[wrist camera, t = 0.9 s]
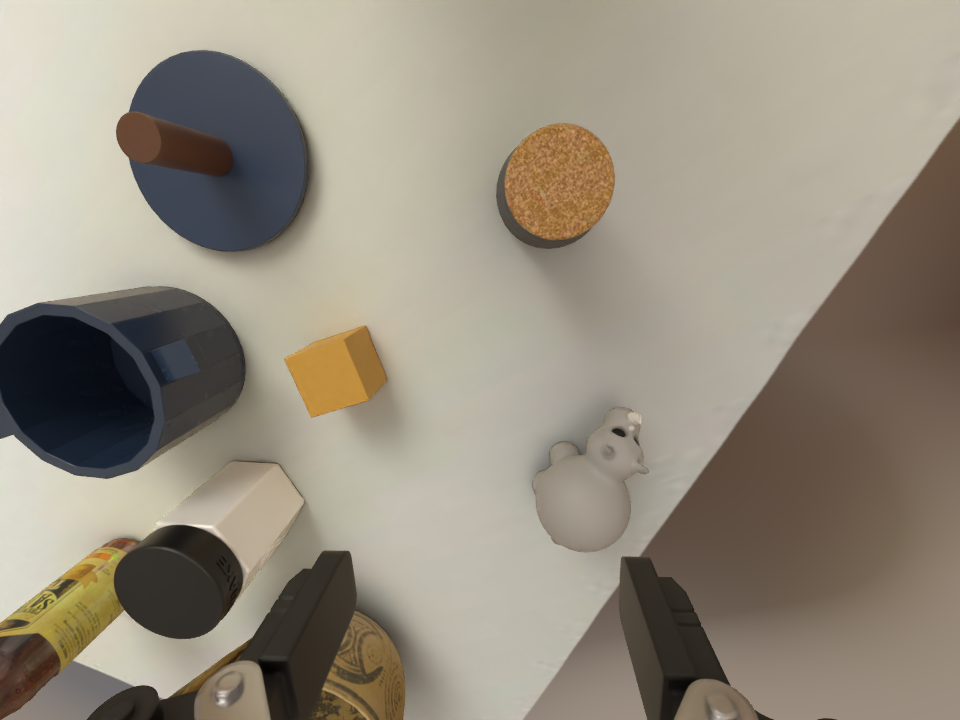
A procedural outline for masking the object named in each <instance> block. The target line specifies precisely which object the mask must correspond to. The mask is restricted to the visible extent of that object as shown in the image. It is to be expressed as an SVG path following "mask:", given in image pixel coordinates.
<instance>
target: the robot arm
mask: <svg viewBox="0 0 960 720" xmlns="http://www.w3.org/2000/svg"><path fill="white" fill-rule="evenodd" d="M356 599H357V592H356V585H355V578H354V571H353V564H352V558H351V554H350V552H349V551H323V552H322V553H321V554H320V556H319V557H318V559H317V561H316V562H315V564H314V566H313V567H312V569H303V570H302V571H301V572H299V573H298V574H297V575H296V576H295V577H294V578H292V579H291V580H290V581H289V582H288V583H287V585H286V586H285V588H284V590H283V591H282V593H281V594H280V596H279V599H278V600H276V602H275V604H274V605H273V607H272V608H271V611H270V613H268V614H267V616H266V617H265V619H264V621H263V622H262V624H261V625H260V627H259V628H258V630H257V631H256V633H255V634H254V636H253V638H252V639H251V641H250V642H249V644H248V645H247V647H246V648H245V650H244V652H243V653H242V655H241V656H240V658H239V659H238V661H237V662H234V663H231V664H229V665H226V666H225V667H223V668H221V669H219V670H218V671H216V672H215V673H214V674H213V675H211V676H210V677H209V678H208V679H207V680H206V681H205V683H204V684H203V685H202V686H201V688H200V690H197V691H194V692H190V693H186V694H183V695H179V696H175V697H171V698H168V699H164V700H159V696H158V693H157V691H156V690H155V689H154V688H153V687H150V686H144V685H143V686H136V687H132V688H129V689H126V690H124V691H122V692H120V693H118V694H116V695H115V696H113V697H111V698H110V699H108V700H107V701H106V702H104V703H103V704H102V705H101V706H99V707H98V708H97V709H96V710H95V711H94V712H93V713H92V714H91V715H90V717H89V718H88V719H87V720H309V719H310V717H311V715H312V712H313V710H314V708H315V705H316V703H317V700H318V698H319V696H320V693H321V691H322V689H323V686H324V684H325V681H326V679H327V677H328V674H329V672H330V670H331V667H332V665H333V662H334V660H335V658H336V655H337V653H338V651H339V648H340V646H341V643H342V641H343V639H344V636H345V634H346V632H347V629H348V627H349V624H350V622H351V620H352V617H353V615H354V611H355V607H356ZM619 611H620V619H621V624H622V628H623V631H624V635H625V639H626V642H627V646H628V650H629V654H630V657H631V661H632V664H633V668H634V672H635V675H636V680H637V683H638V687H639V690H640V694H641V698H642V701H643V705H644V709H645V713H646V716H647V720H773V719H770V718H768V717H766V716H764V715H762V714H760V713H758V712H757V711H756V710H754V708H753V707H752V705H751V704H750V702H749V701H748V700H747V699H746V698H745V697H744V696H743V695H742V694H741V693H739V692H738V691H737V690H736V689H734V688H733V687H731V685H730V684H729V682H728V680H727V678H726V676H725V674H724V672H723V669H722V667H721V666H720V663H719V661H718V659H717V657H716V655H715V652H714V650H713V648H712V646H711V644H710V642H709V640H708V638H707V635H706V633H705V631H704V629H703V627H701V623H700V621H699V619H698V616H697V614H696V613H695V612H694V608H693V606H692V604H691V602H690V600H689V597H688V596H687V593H686V592H685V591H684V590H683V589H682V588H681V587H680V586H679V585H678V584H677V583H676V582H675V581H674V580H673V579H672V578H671V577H658V576H657V573H656V571H655V568H654V566H653V564H652V561H651V559H650V558H649V557H622V558H621V568H620V586H619ZM818 720H835V719H828V718H827V719H825V718H824V719H818Z"/></svg>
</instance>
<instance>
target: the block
mask: <svg viewBox="0 0 960 720" xmlns="http://www.w3.org/2000/svg"><path fill="white" fill-rule="evenodd" d="M284 360H285V362H286V364H287V366H288V368H289V371H290V373H291V375H292V377H293V379H294V381H295V383H296V386H297V388H298V390H299V392H300V394H301V396H302V399H303V401H304V403H305V405H306V407H307V409H308V411H309V414H310V416H311V417H315V416H319V415H322V414H325V413H329V412H332V411H335V410H338V409H342V408H345V407H348V406H352V405H355V404H358V403H362V402H365V401H368V400H370V399H371V397H372V396H373V395H374V394H375V393H376V392H377V391H378V389H379V388H380V387H381V386H382V385H383V384H384V382H385V381H386V380H387V377H386V375H385V372H384V370H383V367H382V365H381V363H380V360H379V358H378V355H377V353H376V350H375V348H374V345H373V343H372V340H371V338H370V336H369V333H368V331H367V328H366V326H362V327H359V328H356V329H353V330H350V331H347V332H344V333H341V334H338V335H335V336H332V337H329V338H326V339H323V340H320V341H317V342H314V343H312V344H310V345H308V346H306V347H305V348H303V349H301V350H299V351H297V352H295V353H294V354H292V355H290V356H288V357H286V358H285V359H284Z"/></svg>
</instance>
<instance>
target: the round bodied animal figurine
mask: <svg viewBox="0 0 960 720" xmlns="http://www.w3.org/2000/svg"><path fill="white" fill-rule="evenodd" d="M641 423H642V416H641V415H640V414H638V413H635V412H634V411H632V410H631V409H629V408H625V407H617V408H613V409H611V410H610V411H609V412H608V413H607V414H606V416H605V418H604V420H603V424H602V425H601V427H600V428H598V429H597V430H596V431H595V432H593V433H592V434H591V435H590V437H589V438H588V440H587V443H586V453H585V454H584V455H580V454H579V451H578V449H577V448H576V447H575V446H574V445H573V444H572V443H570V442H559V443H557V444H555V445H554V446H553V447H552V448H551V450H550V454H549V458H550V462H551V466H550V467H549V468H548V469H547V470H542V471H539V472H538V473H536V474H535V476H534V478H533V481H532V487H533V491H534V493H535V495H536V508H537V513H538V516H539V519H540V522H541V524H542V525H543V527H544V529H545V530H546V532H547V533H548V534H549V535H550V536H551V539H552V541H553V542H554V543H555V544H557V545H562V546H564V547H566V548H568V549H571V550H574V551H578V552H595V551H599V550H602V549H605V548H607V547H609V546H610V545H612V544H613V543H614V542H616V541H617V540H618V539H619V538H620V536H621V535H622V534H623V532H624V531H625V529H626V527H627V525H628V522H629V518H630V512H631V501H630V496H629V492H628V489H627V487H626V485H625V483H624V480H625V479H628V478H630V477H632V476H633V475H634V474H635V473H636V472H638V473H640V474H647V473H649V470H648V469H647V468H646V467H644V465H643V457H644V456H643V451H642V448H641V446H640V444H639V440H638V436H639V431H640V424H641Z"/></svg>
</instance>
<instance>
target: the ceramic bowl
mask: <svg viewBox="0 0 960 720" xmlns="http://www.w3.org/2000/svg"><path fill="white" fill-rule="evenodd" d="M251 639H252V638H251ZM251 639H250V640H248V641H247V642H246V643H244V644H243V645H241V646H240V647H238V648H237V649H235V650H234V651H232V652H231V653H229V654H228V655H226V656H225V657H224V658H222V659H221V660H220V661H218V662H217V663H215V664H214V665H213V666H211V667H210V668H209V669H207V670H206V671H205V672H203V673H202V674H201V675H199V676H198V677H196V678H195V679H194V680H192V681H191V682H189V683H188V684H187V685H185V686H184V687H182V688H181V689H180V690H178V691H177V692H176V693H174V694H173V695H172V696H170V697H169V698H171V697H175V696H179V695H183V694H186V693H190V692H194V691H197V690H200V688H201V686H202V685H203V684H204V683H205V681H206V680H207V679H208V678H209V677H210V676H211V675H213V674H214V673H215V672H216V671H218V670H219V669H221V668H223V667H225V666H226V665H229V664H231V663H234V662H237V661H238V659H239V658H240V656H241V655H242V653H243V652H244V650H245V648H246V647H247V645H248V644H249V642H250V641H251ZM404 705H405V680H404V673H403V668H402V663H401V660H400V656H399V654H398V652H397V649H396V647H395V646H394V644H393V643H392V641H391V639H390V638H389V636H388V635H387V633H386V632H385V631H384V630H383V629H382V628H381V627H380V626H379V625H378V624H377V623H376V622H375V621H374V620H372V619H371V618H369V617H368V616H366V615H364V614H362V613H360V612H359V611H356V610H355V611H354V615H353V617H352V620H351V622H350V624H349V627H348V629H347V632H346V634H345V636H344V639H343V641H342V643H341V646H340V648H339V651H338V653H337V655H336V658H335V660H334V662H333V665H332V667H331V670H330V672H329V674H328V677H327V679H326V681H325V684H324V686H323V689H322V691H321V693H320V696H319V698H318V700H317V703H316V705H315V708H314V710H313V712H312V715H311V717H310V719H309V720H403V714H404Z"/></svg>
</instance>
